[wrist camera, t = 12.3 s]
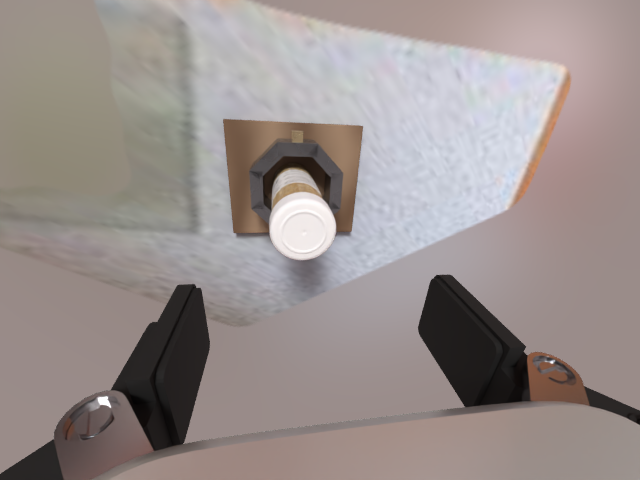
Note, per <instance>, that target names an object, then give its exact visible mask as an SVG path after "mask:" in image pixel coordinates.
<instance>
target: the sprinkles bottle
mask: <svg viewBox="0 0 640 480" xmlns="http://www.w3.org/2000/svg"><path fill="white" fill-rule="evenodd" d="M272 187H273V188H272V212H271V215H270V220H269V232H270V238H271V241H272V243H273V245H274V246H275V248H276V249H277V250H278V251H279V252H280V253H281V254H283V255H284V256H286V257H288V258H291V259H294V260H309V259H313V258H316V257H318V256H320V255H321V254H323V253H324V252H325V251H326V250H328V248H329V247H330V246H331V244H332V243H333V241H334V238H335V235H336V222H335V218H334V216H333V213H332V211H331V209H330V208H329V206H328V204H327V203H326V202H325V201H324V200H323V199H322V196H321V193H320V191H319V189H318V187H317V186H316V184H315V182H314V180H313V177H312V175H311V173H310V172H309V171H308V169H307V168H306V167H304V166H302V165H300V164H297V163H289V164H285V165H283V166H281V167H280V168H279V169H278V170H277V171H276V173H275V174H274V177H273V180H272Z"/></svg>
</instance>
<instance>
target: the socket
mask: <svg viewBox="0 0 640 480" xmlns="http://www.w3.org/2000/svg"><path fill="white" fill-rule="evenodd" d="M283 156H298V157H313V158H314V159H315V160H316V162H317V163H318V164H319V165H320V166H321V167H322V168H323V169H324V171H325V186H324V195H323V196H322V199H323V200H324V201H325V202H326V203H327V204H328V206H329V208H330V209H331V211H332V213H333V215H334V214H335V213H336V212H338V211H339V210H340V207H341V195H342V184H343V172H342V171H341V170H340V168H339V167H338V166H337V165H336V164H335V163H334V161H333V160H332V159H331V158H330V157H329V156H328V155H327V153H326V152H325V151H324V150H323V149H322V148H321V146H320V145H319V144H318V143H317V142H316V141H315V140H310V139H303V131H296V130H292V139H285V138H277V139H276V140H275V141H274V142H273V143H272V144H271V145H270V146H269V147H268V148H267V149H266V150H265V151H264V152H263V153H262V154H261V155H260V156H259V157H258V158H257V159H256V160H255V162H254V163H253V164H252V166H251V168H250V170H249V176H250V193H251V209H252V210H253V211H254V212H255V213H257V214H258V215H259V216H260V217H261V218H262V219H263V220H265V221H266V222H267V223H268V224H269V220H270V215H271V212H272V200H271V199H270V198H268V197H267V196H266V195H265V183H264V175H265V174H266V173H267V172H268V171H269V170H270V169H271V168H272V167H273V166H274V165H275V164H276V163H277V162H278V161H279V160H280V159H281V158H282V157H283Z"/></svg>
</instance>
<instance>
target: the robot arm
mask: <svg viewBox="0 0 640 480" xmlns="http://www.w3.org/2000/svg"><path fill="white" fill-rule="evenodd" d="M418 330H419V334H420V336H421V338H422V339H423V341H424V343H425V344H426V346H427V347H428V349H429V351H430V352H431V354H432V355H433V357H434V358H435V360H436V362H437V363H438V365H439V366H440V368H441V369H442V371H443V373H444V374H445V376H446V377H447V379H448V380H449V382H450V384H451V385H452V387H453V388H454V390H455V392H456V393H457V395H458V396H459V398H460V400H461V401H462V403H463V404H464V406H465V407H464V408H455V409H447V410H438V411H429V412H421V413H412V414H403V415H395V416H386V417H379V418H370V419H362V420H354V421H346V422H338V423H329V424H321V425H313V426H305V427H297V428H289V429H281V430H273V431H265V432H258V433H251V434H243V435H237V436H229V437H223V438H216V439H209V440H202V441H197V442H192V443H187V444H183V443H184V441H185V437H186V434H187V430H188V427H189V423H190V419H191V416H192V412H193V408H194V404H195V401H196V397H197V393H198V390H199V386H200V382H201V378H202V375H203V371H204V368H205V364H206V360H207V356H208V353H209V348H210V341H209V334H208V327H207V322H206V315H205V309H204V303H203V296H202V291H201V288H196V286H195V284H188V285H178V286H177V287H176V289H175V291H174V292H173V294H172V296H171V298H170V300H169V302H168V303H167V305H166V307H165V309H164V311H163V313H162V314H161V316H160V318H159V320H158V322H152V323H150V324H149V325H148V327H147V328H146V330H145V332H144V333H143V335H142V337H141V339H140V340H139V342H138V344H137V346H136V347H135V349H134V351H133V353H132V354H131V356H130V358H129V359H128V361H127V363H126V364H125V366H124V368H123V370H122V371H121V373H120V375H119V377H118V378H117V380H116V382H115V384H114V385H113V387H112V389H111V390H109V391H108V390H107V391H102V392H99V393H95V394H93V395H91V396H89V397H86V398H84V399H83V400H81V401H80V402H78V403H77V404H75V405H74V406H73V407H72V408H71V409H70V410H69V411H67V412H66V413H65V415H64V416H63V417H62V418H61V420H60V421H59V422H58V424H57V426H56V429H55V431H54V439H53V440H52V441H50V442H49V443H47V444H45V445H44V446H43V447H41V448H39V449H38V450H36V451H35V452H33V453H32V454H30V455H29V456H27V457H25V458H24V459H22V460H21V461H19V462H18V463H16V464H15V465H13V466H12V467H10V468H9V469H7V470H5V471H4V472H2V473H1V474H0V480H640V411H639V410H637V409H635V408H632V407H630V406H628V405H625V404H623V403H621V402H618V401H616V400H614V399H612V398H609V397H607V396H605V395H603V394H600V393H598V392H596V391H594V390H591V389H589V388H587V387H585V386H584V385H583V381H582V379H581V377H580V376H579V374H578V373H577V372H576V371H575V370H574V369H573V368H572V367H571V366H570V365H568V364H567V363H565V362H564V361H562V360H561V359H559V358H557V357H554V356H552V355H549V354H546V353H542V352H533V353H530V354H529V355H528V356H527V355H526V354H525V353H524V350H525V348H526V346H525V345H524V344H523V343H522V342H521V341H520V340H519V339H518V338H517V337H515V336H514V335H513V334H512V333H511V332H510V331H509V330H508V329H507V328H506V327H505V326H504V325H503V324H502V323H501V322H500V321H499V320H498V319H497V318H496V317H495V316H493V315H492V314H491V313H490V312H489V311H488V310H487V309H486V308H485V307H484V306H483V305H482V304H481V303H480V302H479V301H478V300H477V299H476V298H475V297H474V296H473V295H472V294H470V292H468V291H467V290H466V289H465V288H464V287H463V286H462V285H461V284H460V283H459V282H458V281H457V280H456V279H455V278H454V277H453V276H451V275H436V276H435V277H434V279H432V280H431V282H430V285H429V289H428V293H427V296H426V300H425V304H424V308H423V311H422V315H421V319H420V322H419V326H418Z"/></svg>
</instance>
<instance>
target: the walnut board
mask: <svg viewBox="0 0 640 480" xmlns="http://www.w3.org/2000/svg"><path fill="white" fill-rule="evenodd" d="M223 123H224V133H225V144H226V155H227V166H228V177H229V188H230V198H231V209H232V220H233V231H234V233H268V232H269V224H268V223H267V222H266V221H265V220H263V219H262V218H261V217H260V216H259V215H258V214H257V213H255V212H254V211H253V210H252V209H251V193H250V176H249V170H250V168H251V166H252V164H253V163H254V162H255V160H256V159H257V158H258V157H259V156H260V155H261V154H262V153H263V152H264V151H265V150H266V149H267V148H268V147H269V146H270V145H271V144H272V143H273V142H274V141H275V140H276V139H277V138H285V139H292V130H296V131H303V139H310V140H315V141H316V142H317V143H318V144H319V145H320V146H321V148H322V149H323V150H324V151H325V152H326V153H327V155H328V156H329V157H330V158H331V159H332V160H333V161H334V163H335V164H336V165H337V166H338V167H339V168H340V170H341V171H342V172H343V184H342V195H341V207H340V210H339V211H338V212H336V213H335V214H334V215H333V216H334V218H335V222H336V232H351V231H352V222H353V213H354V204H355V195H356V186H357V177H358V167H359V158H360V149H361V140H362V131H363V126H355V125H334V124H314V123H293V122H273V121H252V120H231V119H224V120H223ZM289 163H297V164H300V165H302V166H304V167H306V168H307V169H308V171H309V172H310V173H311V175H312V177H313V180H314V182H315V184H316V186H317V187H318V189H319V191H320V193H321V196H323V195H324V186H325V171H324V169H323V168H322V167H321V166H320V165H319V164H318V163H317V162H316V160H315V159H314V158H313V157H298V156H283V157H282V158H281V159H280V160H279V161H278V162H277V163H276V164H275V165H274V166H273V167H272V168H271V169H270V170H269V171H268V172H267V173H266V174H265V175H264V183H265V195H266V196H267V197H268V198H270V199H271V200H272V188H273V187H272V180H273V177H274V174H275V173H276V171H277V170H278V169H279V168H280V167H281V166H283V165H285V164H289Z"/></svg>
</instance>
